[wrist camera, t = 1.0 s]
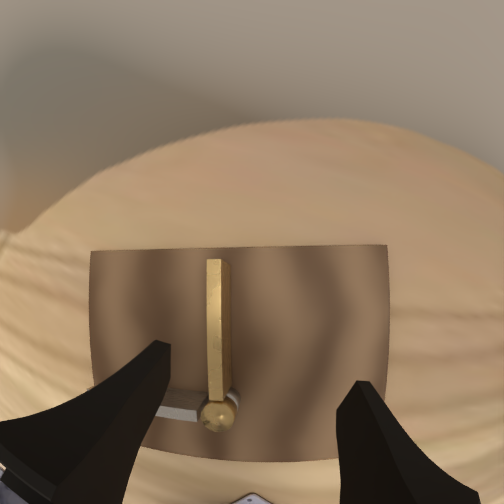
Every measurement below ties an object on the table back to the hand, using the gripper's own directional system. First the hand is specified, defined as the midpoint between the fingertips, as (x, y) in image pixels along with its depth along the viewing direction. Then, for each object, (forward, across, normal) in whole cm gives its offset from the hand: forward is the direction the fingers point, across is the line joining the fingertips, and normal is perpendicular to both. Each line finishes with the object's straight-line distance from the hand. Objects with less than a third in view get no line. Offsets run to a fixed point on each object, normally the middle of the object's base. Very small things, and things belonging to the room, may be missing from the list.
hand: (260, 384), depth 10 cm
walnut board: (+10, +2, +10) cm, 14 cm away
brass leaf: (+10, +2, +7) cm, 13 cm away
